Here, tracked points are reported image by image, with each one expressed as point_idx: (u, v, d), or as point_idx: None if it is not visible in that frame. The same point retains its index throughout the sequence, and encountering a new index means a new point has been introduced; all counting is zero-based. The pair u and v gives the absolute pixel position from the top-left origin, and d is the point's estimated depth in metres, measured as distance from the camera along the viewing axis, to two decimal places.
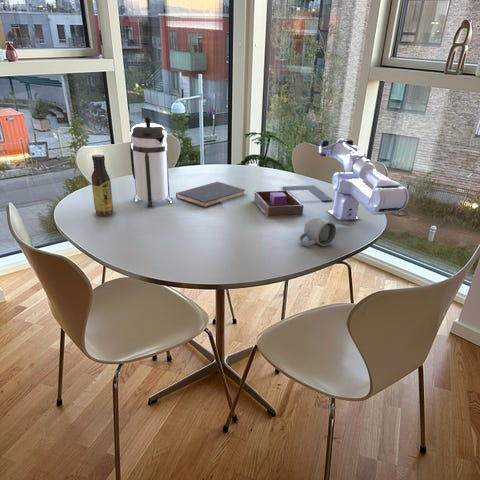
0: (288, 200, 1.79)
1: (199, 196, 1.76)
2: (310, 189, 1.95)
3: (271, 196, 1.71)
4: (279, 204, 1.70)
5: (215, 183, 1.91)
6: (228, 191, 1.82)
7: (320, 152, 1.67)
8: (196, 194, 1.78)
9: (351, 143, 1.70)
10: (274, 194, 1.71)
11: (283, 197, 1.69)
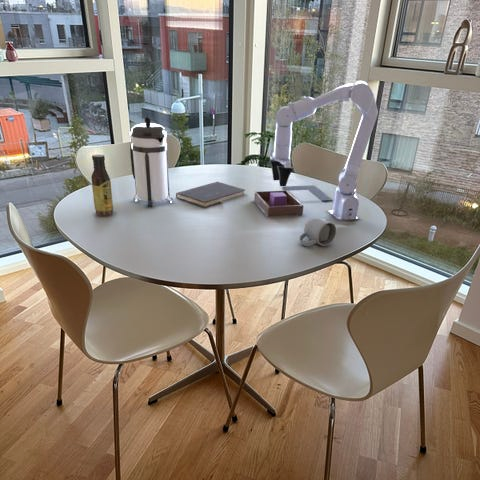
0: (288, 200, 1.79)
1: (199, 196, 1.76)
2: (310, 189, 1.95)
3: (271, 196, 1.71)
4: (279, 204, 1.70)
5: (215, 183, 1.91)
6: (228, 191, 1.82)
7: (290, 162, 1.58)
8: (196, 194, 1.78)
9: (272, 160, 1.69)
10: (274, 194, 1.71)
11: (283, 197, 1.69)
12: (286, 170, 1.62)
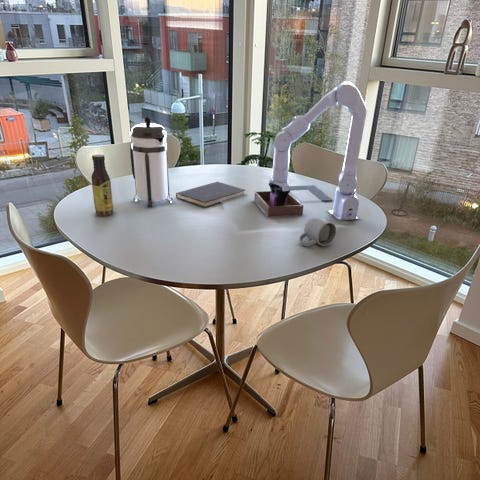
0: (288, 200, 1.79)
1: (199, 196, 1.76)
2: (310, 189, 1.95)
3: (271, 196, 1.71)
4: None
5: (215, 183, 1.91)
6: (228, 191, 1.82)
7: (287, 186, 1.62)
8: (196, 194, 1.78)
9: (271, 183, 1.73)
10: (274, 194, 1.71)
11: None
12: (283, 192, 1.67)
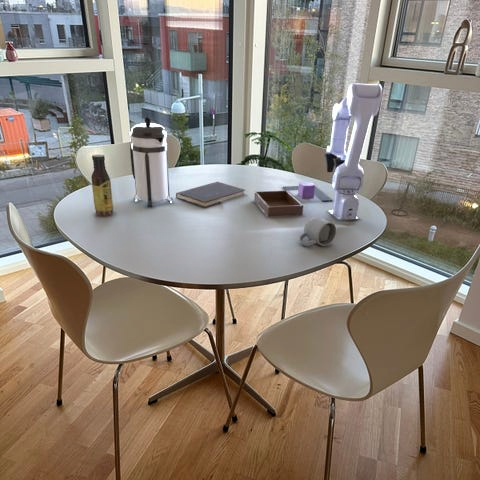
0: (288, 200, 1.79)
1: (199, 196, 1.76)
2: None
3: (300, 185, 1.85)
4: (307, 192, 1.84)
5: (215, 183, 1.91)
6: (228, 191, 1.82)
7: (346, 155, 1.72)
8: (196, 194, 1.78)
9: (326, 153, 1.83)
10: (303, 183, 1.84)
11: (311, 186, 1.83)
12: (341, 162, 1.76)
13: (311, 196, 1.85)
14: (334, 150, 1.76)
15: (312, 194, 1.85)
